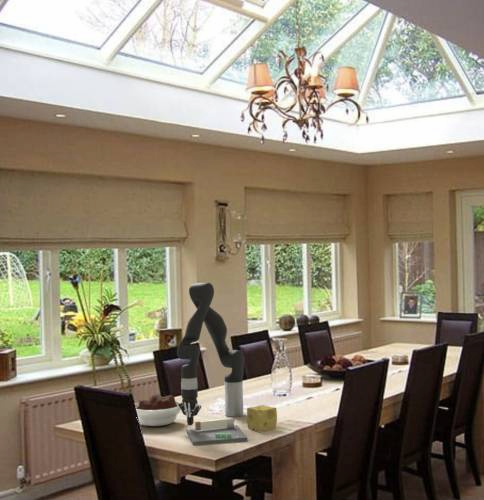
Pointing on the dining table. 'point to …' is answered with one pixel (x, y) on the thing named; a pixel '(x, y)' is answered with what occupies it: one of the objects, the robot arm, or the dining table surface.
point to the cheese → (261, 418)
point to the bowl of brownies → (157, 410)
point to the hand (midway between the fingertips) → (190, 424)
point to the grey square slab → (216, 435)
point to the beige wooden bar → (214, 424)
